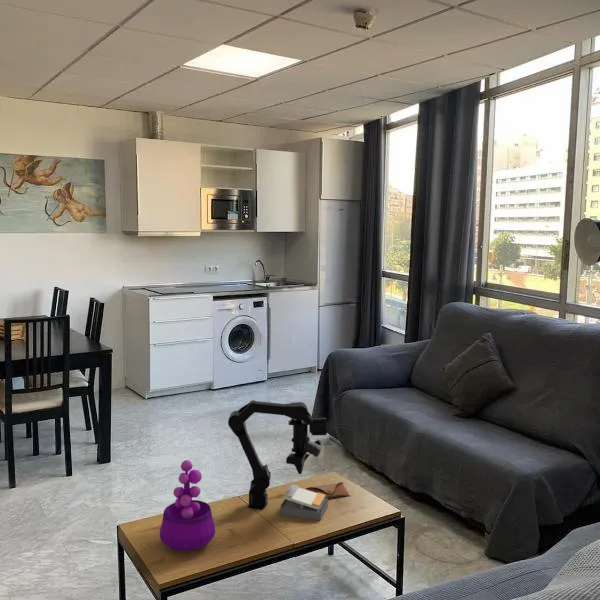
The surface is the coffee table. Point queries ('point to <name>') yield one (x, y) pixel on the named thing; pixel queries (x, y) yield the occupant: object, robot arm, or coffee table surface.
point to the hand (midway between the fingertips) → (300, 473)
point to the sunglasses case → (331, 490)
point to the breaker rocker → (304, 497)
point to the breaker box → (303, 510)
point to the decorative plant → (187, 515)
